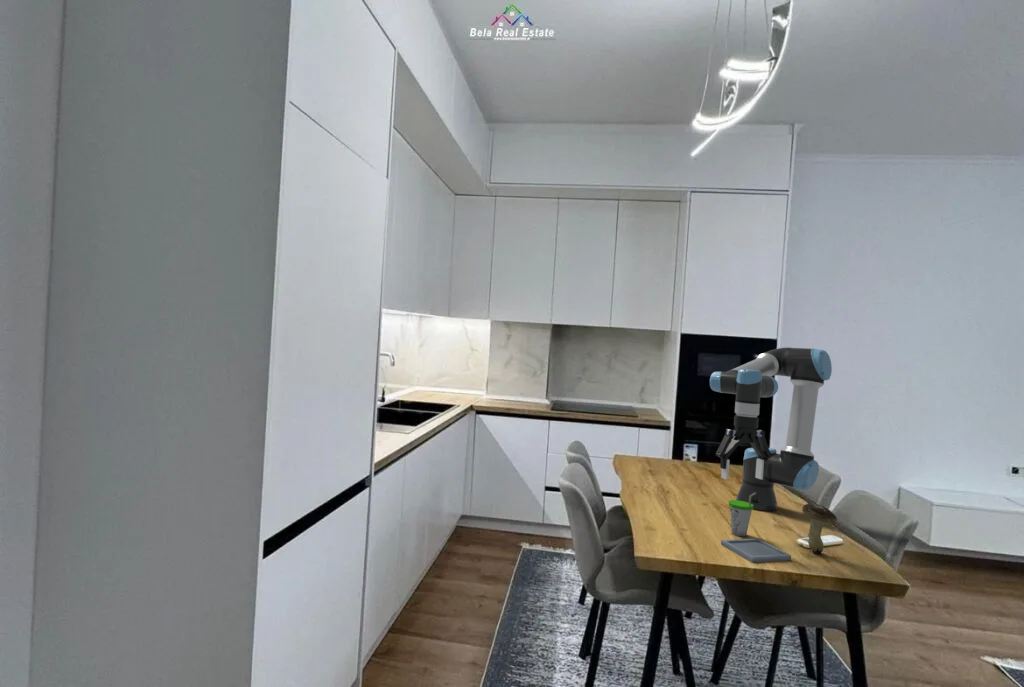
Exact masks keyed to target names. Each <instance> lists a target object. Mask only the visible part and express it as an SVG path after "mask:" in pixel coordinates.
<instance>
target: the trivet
mask: <svg viewBox="0 0 1024 687" xmlns="http://www.w3.org/2000/svg"><path fill="white" fill-rule="evenodd" d="M720 541H721V542H720V545H721V546H723V547H725V548H726V549H728V550H730V551H732V552H733V553H735V554H737V555H738V556H740V557H742V558H744V559H745V560H747V561H749V562H750V563H758V562H759V563H760V562H761V563H762V562H778V561H779V562H780V561H791V560H792V555H791V554H789V553H788V552H785V551H783V550H781V549H780V548H778V547H776V546H774V545H772V544H770V543H768V542H766V541H764V540H762V539H760V538H741V539H739V538H737V539H735V538H734V539H733V538H732V539H721V540H720Z"/></svg>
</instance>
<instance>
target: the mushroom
mask: <svg viewBox="0 0 1024 687" xmlns="http://www.w3.org/2000/svg"><path fill="white" fill-rule="evenodd" d="M801 511H802V513H803V514H804V515H806V516H807V517H809V518H810V524H809V530H808V533H807V536H808V542H807V543H808V547H809V549H810V550H811V552H812V553H814V554H816V555H821V554H822V552H823V550H824V542H823V539H822V538H821V537H822V536H821V534H822V530H823V529H824V525H825V523H826V524H829V525H835V524H837V522H838V521H837V520H838V519H837V518H838V517H837V516H836V515H835V514H834V512H832V511H831V510H830V509H828V508H827V507H825V506H824V505H821V504H819V503H818V504H817V503H812V502H809V503H806V504H804V505H803V506H802V510H801Z"/></svg>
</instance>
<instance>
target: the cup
mask: <svg viewBox="0 0 1024 687" xmlns="http://www.w3.org/2000/svg"><path fill="white" fill-rule="evenodd" d="M755 494H756V493H753V494H752V495H750V497H749V503H748V502H744V501H739V500H735V499H732V500H729V501H728V506H729V509H730V510H729V512H730V525H731V534H732V535H734V536H736V537H746V536H747V534H748V528H749V525H750V520H751V516H752V511H753V510H754V509H753V507H754V506H753V504H751V497H752V496H753V495H755Z"/></svg>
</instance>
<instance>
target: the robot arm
mask: <svg viewBox="0 0 1024 687" xmlns="http://www.w3.org/2000/svg"><path fill="white" fill-rule="evenodd" d="M832 366H833V365H832V361H831V358H830V355H829V353H828V352H827V351H826V350H823V349H818V348H804V347H803V348H800V347H780V348H774V349H770V350H768V351H765V352H763V353H760V354H758V356H757V357H756V358H755V359H753V360H750V361H748V362H746V363H744V364H741V365H739V366H737V367H735V368H732V369H729V370H727V371H714V372H712V373H711V375H710V378H709V387H710V389H711V390H712V391H714V392H717V393H721V394H723V393H724V394H731V395H735V401H734V402H735V403H734V404H735V405H734V413H735V415H734V417H733V426H734V429H729V428H726V429H725V434H724V436H723V438H722V440H721V441H720V442H721V443H720V444H719V446H718V448H717V449H716V452H715V456H716V457H719V459H720V464H719V467H720V469H721V476H720V478H721V479H723V480H729V476H730V475H729V474H730V461H731V460H730V459H729V457H730V456H731V455H732V454H733V453H734V451H736V449H737V448H738V446H740V445H741V444H749V445H750V446H751V447H748V448H746V449H745V450H744V456H743V459H742V460H743V466H742V467H743V468H742V482H741V485H740V488H739V490H738V494H737V495H736V497H735V498H736V500H739V501H744V502H748V503H749V497H750V495H752V494H753V493H756V494H755V495H753V496H752V497H751V504H753V506H754V507H753V509H752V510H758V511H765V512H767V511H770V512H771V511H776V510H777V509H778V501H777V497H776V492H775V490H774V489H775V488H774V487H775V484H776V485H781V486H784V487H789V488H793V489H795V490H796V489H797V490H802V491H808V490H810V489H812V487H813V486H814V485H815V483H816V481H817V479H818V475H819V470H820V468H819V467H820V466H819V463H818V461H816V460H815V455H814V453H813V452H812V450H811V449H812V442H813V441H812V440H813V434H814V426H815V420H816V419H815V418H816V410H817V403H818V395H819V389H820V388H822V387H823V386H825V385H824V384H825V381H828V380H830V379H831V376H832V370H833V369H832V368H833V367H832ZM774 376H778V377H779V376H781V377H789V378H790V382H791V384H792V385H793V389H792V390H793V391H792V396H791V402H790V404H791V405H790V413H789V419H788V425H787V426H788V427H787V435H786V440H785V446H784V447H783V448H781V449H780V453H777V449H775V448H773V447H769V445H768V442H767V439H766V431H765V430H762V429H758V428H759V422H760V421H759V420H760V418H759V417H758V416H759V415H760V408H761V406H760V405H761V398H765V399H767V398H771V397H773V396H775V395H776V394H777V392H778V390H779V383H778V381H777V380H776V379H775V378H774Z"/></svg>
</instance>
